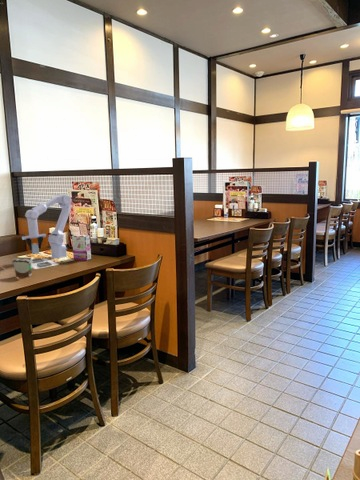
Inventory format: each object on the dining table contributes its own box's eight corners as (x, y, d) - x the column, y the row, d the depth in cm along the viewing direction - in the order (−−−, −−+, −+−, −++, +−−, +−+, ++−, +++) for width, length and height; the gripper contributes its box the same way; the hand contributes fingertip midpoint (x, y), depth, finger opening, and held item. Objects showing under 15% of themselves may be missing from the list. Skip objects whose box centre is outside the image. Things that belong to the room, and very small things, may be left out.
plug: (39, 252, 232) (38, 242, 230) (39, 253, 228) (38, 243, 227) (32, 253, 230) (31, 243, 229) (32, 254, 227) (31, 244, 225)
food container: (39, 274, 201) (37, 257, 199) (31, 277, 196) (29, 260, 194) (21, 273, 205) (20, 256, 203) (13, 276, 200) (11, 259, 198)
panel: (45, 259, 239) (45, 256, 238) (59, 265, 221) (59, 262, 220) (22, 263, 229) (22, 260, 229) (35, 270, 211) (34, 267, 211)
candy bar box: (91, 259, 235) (90, 235, 232) (87, 260, 231) (85, 236, 227) (78, 258, 239) (76, 234, 236) (73, 259, 235) (71, 235, 232)
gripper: (42, 226, 234) (44, 246, 236) (19, 229, 224) (21, 250, 227) (46, 227, 228) (48, 248, 231) (23, 230, 219) (25, 251, 222)
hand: (35, 249), depth 229 cm, fingers closed on plug, 5 cm apart
